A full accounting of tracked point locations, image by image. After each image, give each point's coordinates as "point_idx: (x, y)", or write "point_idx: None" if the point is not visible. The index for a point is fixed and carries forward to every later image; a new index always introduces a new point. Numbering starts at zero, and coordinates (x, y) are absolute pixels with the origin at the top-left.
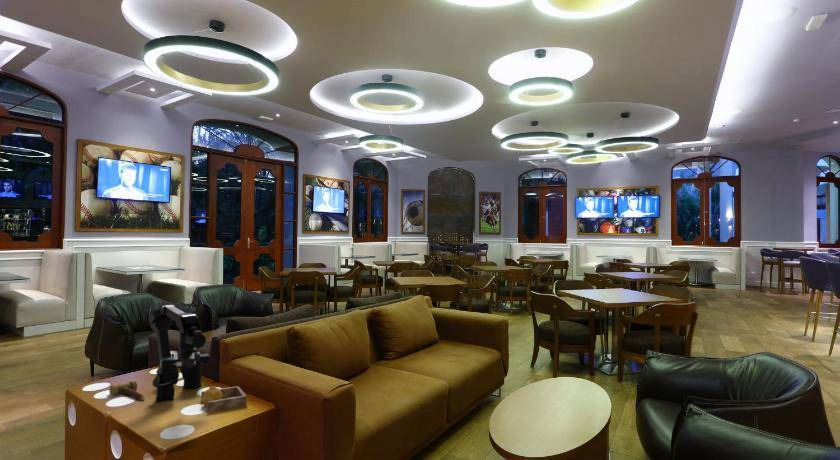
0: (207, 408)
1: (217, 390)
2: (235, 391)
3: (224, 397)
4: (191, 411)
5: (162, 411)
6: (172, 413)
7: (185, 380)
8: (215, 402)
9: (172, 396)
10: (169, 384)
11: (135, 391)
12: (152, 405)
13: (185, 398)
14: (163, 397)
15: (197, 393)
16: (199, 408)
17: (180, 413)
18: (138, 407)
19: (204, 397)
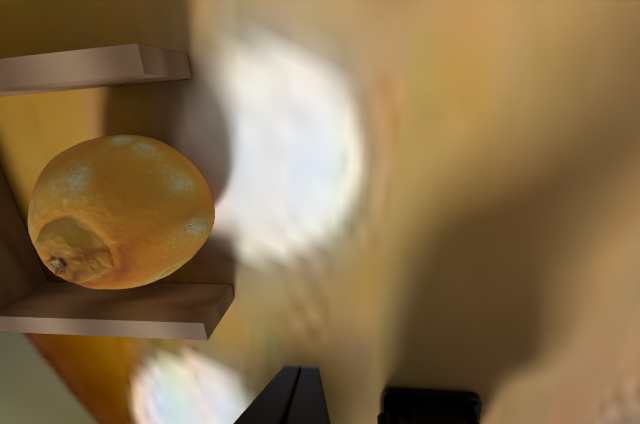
0: (171, 52)
1: (33, 201)
2: (23, 298)
3: None
4: (294, 126)
5: (479, 222)
6: (423, 147)
7: (295, 365)
8: (83, 51)
9: (388, 414)
10: None
11: None
12: (513, 357)
13: None
14: (445, 414)
15: None
16: (242, 164)
17: (370, 119)
18: (601, 365)
19: (171, 181)
